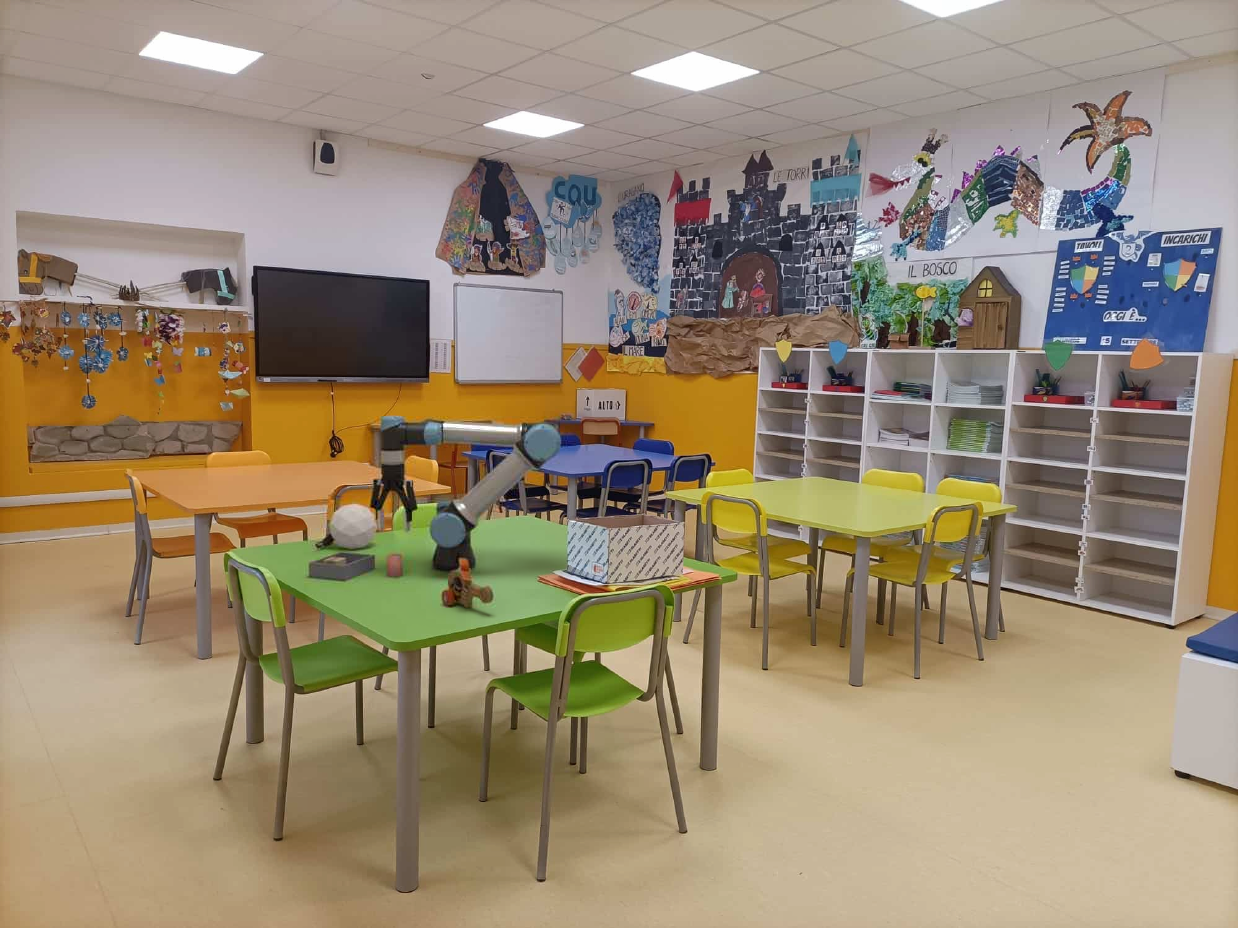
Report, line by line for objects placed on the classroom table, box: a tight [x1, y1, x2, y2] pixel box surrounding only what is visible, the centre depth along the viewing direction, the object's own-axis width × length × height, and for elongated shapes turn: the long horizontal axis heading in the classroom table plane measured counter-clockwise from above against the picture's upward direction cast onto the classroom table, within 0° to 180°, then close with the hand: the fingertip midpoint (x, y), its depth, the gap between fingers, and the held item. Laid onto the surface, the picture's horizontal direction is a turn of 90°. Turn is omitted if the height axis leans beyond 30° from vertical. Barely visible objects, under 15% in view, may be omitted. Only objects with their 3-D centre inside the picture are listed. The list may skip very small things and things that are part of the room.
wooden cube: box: [324, 557, 346, 565], centre depth 288 cm, size 5×5×5 cm
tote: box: [308, 551, 376, 582], centre depth 292 cm, size 18×14×5 cm
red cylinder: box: [386, 553, 403, 579], centre depth 290 cm, size 5×5×7 cm
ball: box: [315, 495, 378, 551], centre depth 331 cm, size 17×25×24 cm
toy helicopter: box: [441, 558, 494, 609], centre depth 253 cm, size 8×21×14 cm, turn 44°
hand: (394, 530), depth 288 cm, fingers open, 9 cm apart
